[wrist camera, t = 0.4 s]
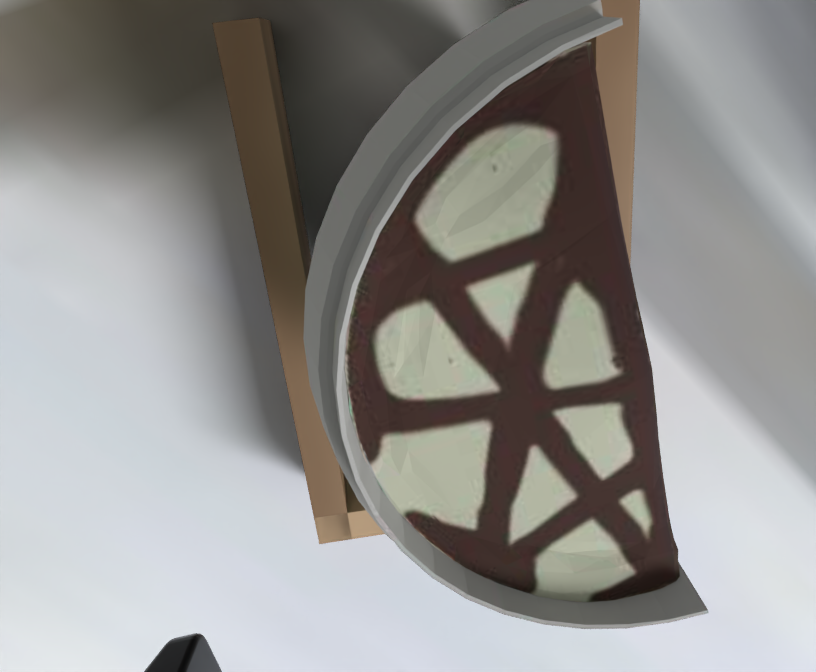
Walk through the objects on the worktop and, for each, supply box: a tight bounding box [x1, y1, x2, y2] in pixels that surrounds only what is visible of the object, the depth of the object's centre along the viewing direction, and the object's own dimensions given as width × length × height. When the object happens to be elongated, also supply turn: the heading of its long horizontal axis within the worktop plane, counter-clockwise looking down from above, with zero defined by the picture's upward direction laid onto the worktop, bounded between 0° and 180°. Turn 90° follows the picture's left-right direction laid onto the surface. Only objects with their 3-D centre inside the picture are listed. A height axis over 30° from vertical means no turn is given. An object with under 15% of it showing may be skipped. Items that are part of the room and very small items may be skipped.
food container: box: [303, 0, 708, 629], centre depth 16 cm, size 12×6×10 cm, turn 16°
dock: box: [212, 0, 640, 544], centre depth 19 cm, size 10×14×3 cm, turn 6°
